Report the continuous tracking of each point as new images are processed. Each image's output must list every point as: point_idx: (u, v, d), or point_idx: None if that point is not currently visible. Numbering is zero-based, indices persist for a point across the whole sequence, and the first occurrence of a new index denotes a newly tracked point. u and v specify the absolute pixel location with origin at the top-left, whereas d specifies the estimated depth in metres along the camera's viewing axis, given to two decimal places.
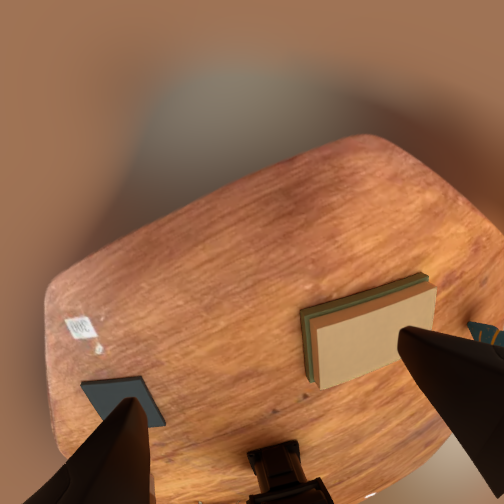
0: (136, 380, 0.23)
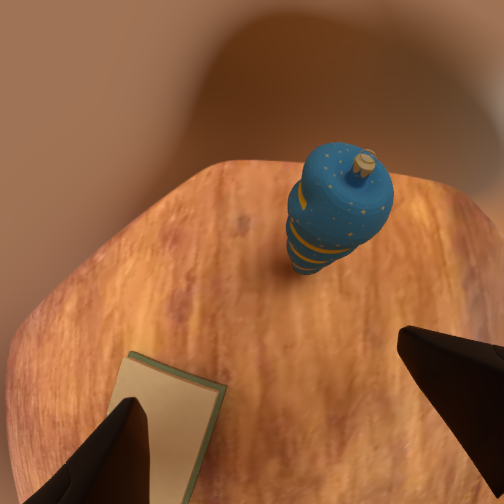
0: None
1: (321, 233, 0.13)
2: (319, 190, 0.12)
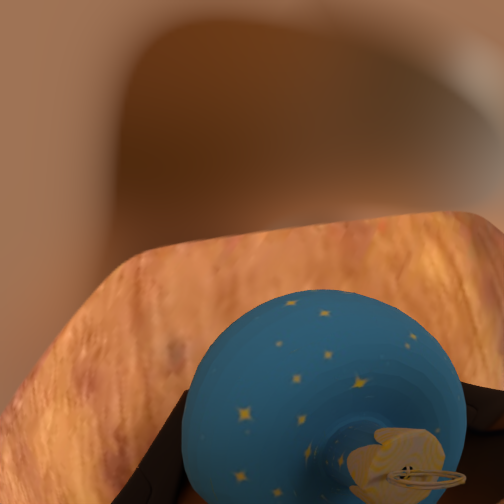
0: None
1: None
2: None
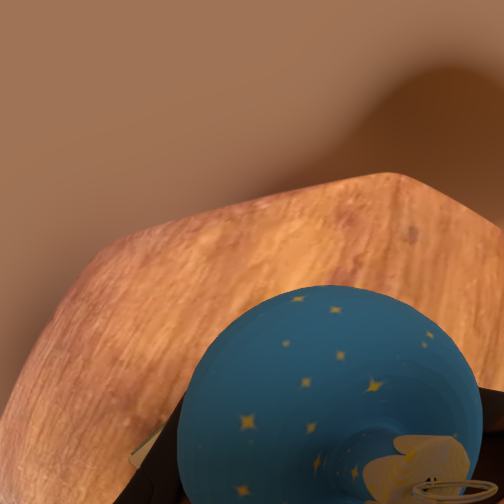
0: None
1: None
2: None
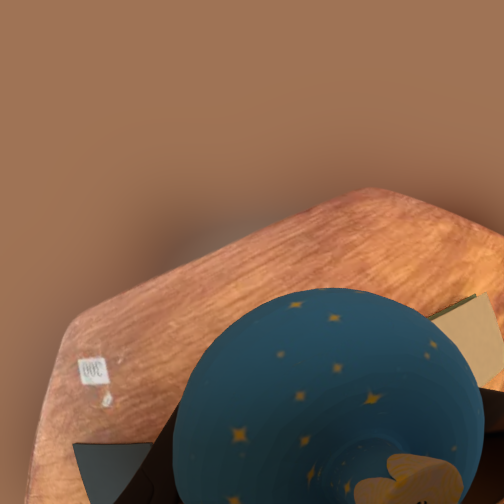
0: (144, 444, 0.16)
1: None
2: None
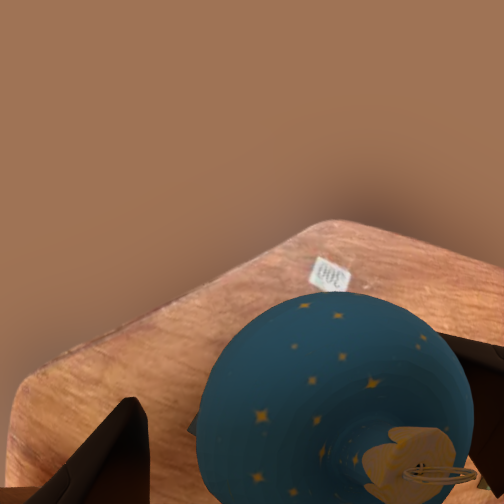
0: None
1: None
2: None
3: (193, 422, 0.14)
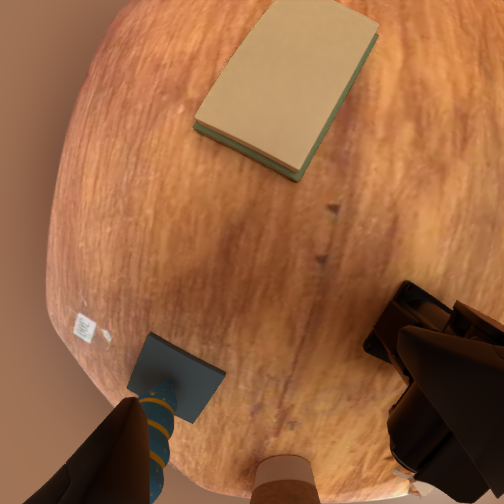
0: None
1: None
2: None
3: (186, 420, 0.23)
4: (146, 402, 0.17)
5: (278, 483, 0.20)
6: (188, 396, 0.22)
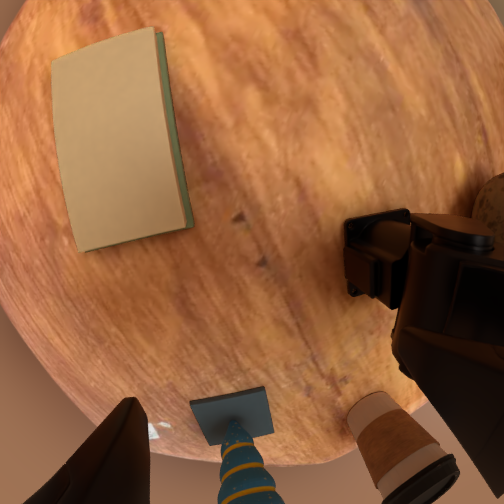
0: (191, 408, 0.23)
1: None
2: None
3: None
4: (227, 453, 0.19)
5: (369, 428, 0.24)
6: (254, 420, 0.25)
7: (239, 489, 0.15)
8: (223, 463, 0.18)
